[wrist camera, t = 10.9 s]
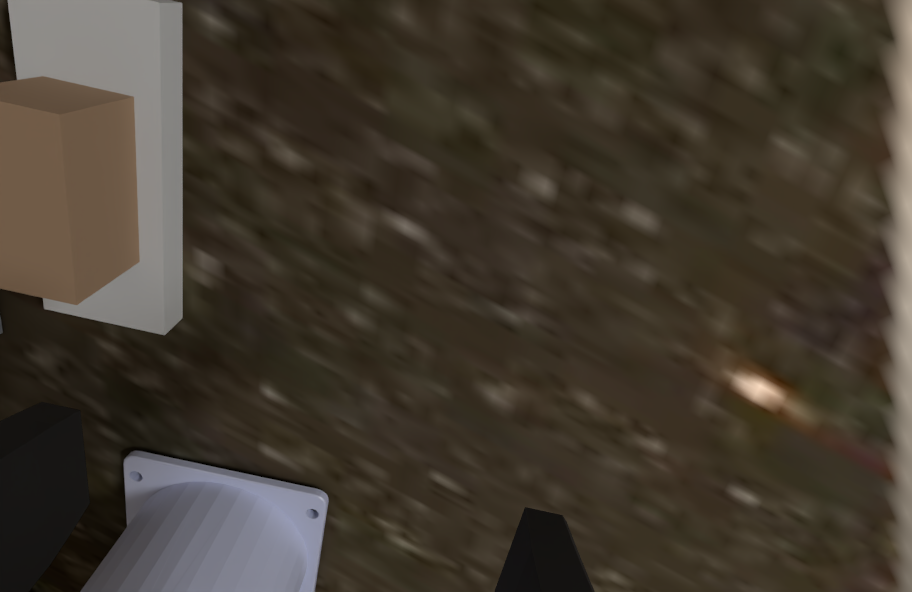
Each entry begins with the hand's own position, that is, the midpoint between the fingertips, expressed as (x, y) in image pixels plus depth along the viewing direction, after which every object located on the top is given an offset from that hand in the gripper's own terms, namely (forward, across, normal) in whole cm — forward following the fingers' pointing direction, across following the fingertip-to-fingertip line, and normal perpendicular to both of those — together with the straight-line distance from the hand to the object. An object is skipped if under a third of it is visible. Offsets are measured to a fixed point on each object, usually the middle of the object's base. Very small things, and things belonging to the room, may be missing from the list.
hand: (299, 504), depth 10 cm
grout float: (+11, +9, -1) cm, 14 cm away
